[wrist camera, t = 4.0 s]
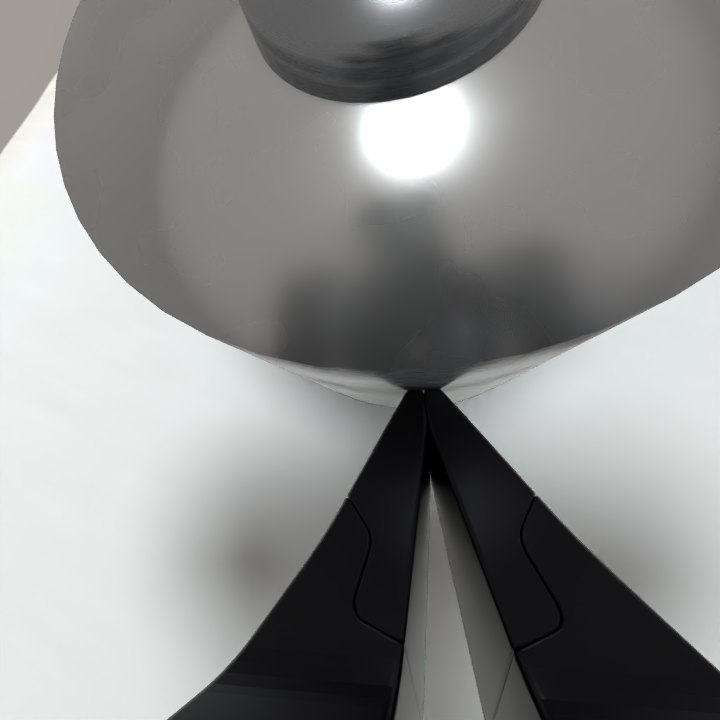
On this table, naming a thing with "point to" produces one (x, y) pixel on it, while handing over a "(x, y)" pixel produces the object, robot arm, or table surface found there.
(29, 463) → the table surface
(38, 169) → the table surface
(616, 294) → the cylinder
